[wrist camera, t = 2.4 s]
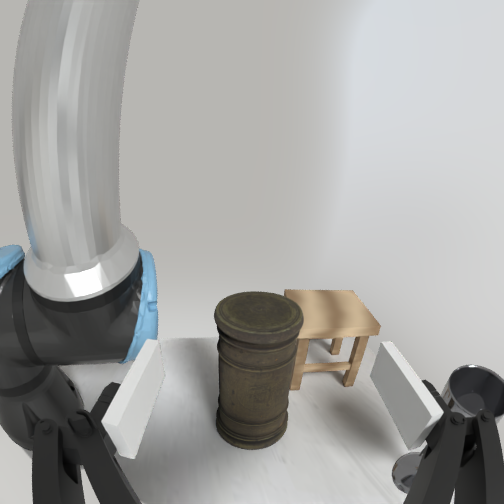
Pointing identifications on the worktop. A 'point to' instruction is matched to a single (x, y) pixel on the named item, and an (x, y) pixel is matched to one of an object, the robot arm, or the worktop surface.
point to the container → (255, 366)
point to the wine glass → (459, 410)
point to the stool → (331, 330)
